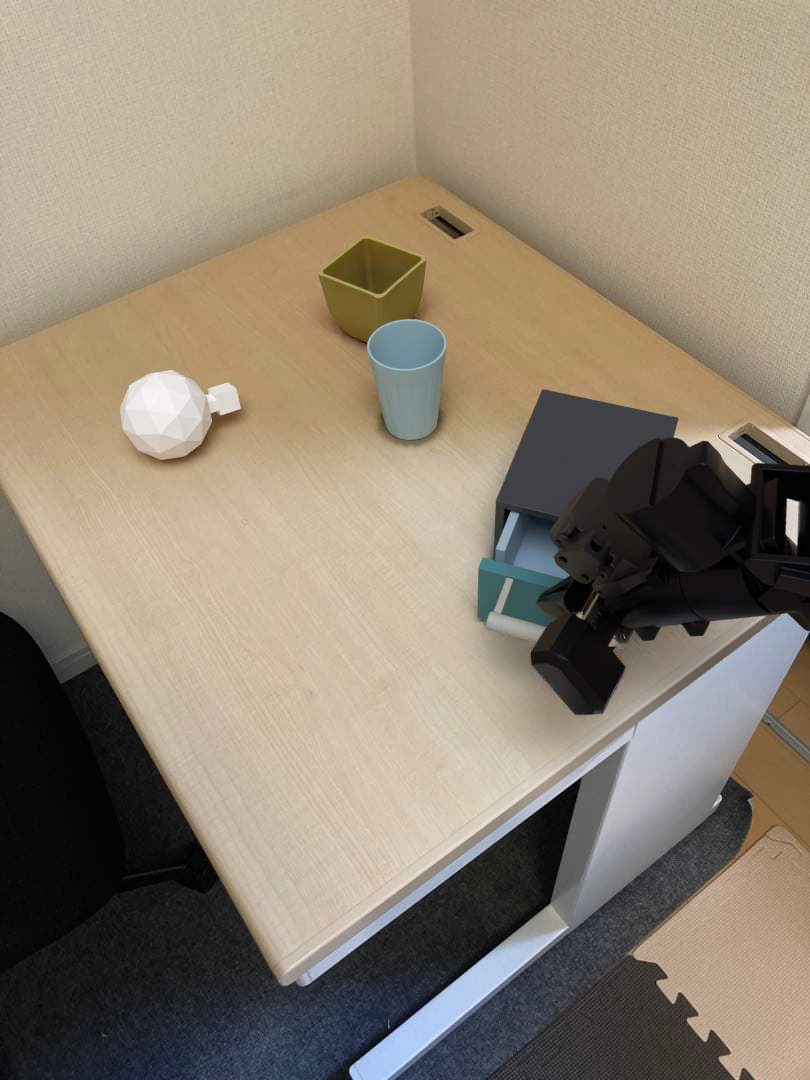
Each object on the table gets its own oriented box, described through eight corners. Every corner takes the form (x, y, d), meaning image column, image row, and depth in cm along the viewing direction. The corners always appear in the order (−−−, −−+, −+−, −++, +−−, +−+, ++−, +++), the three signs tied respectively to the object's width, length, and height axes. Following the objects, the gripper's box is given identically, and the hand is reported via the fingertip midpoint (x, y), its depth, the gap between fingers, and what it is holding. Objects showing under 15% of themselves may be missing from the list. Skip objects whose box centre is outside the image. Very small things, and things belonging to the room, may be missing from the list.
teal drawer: (593, 704, 73) (604, 655, 67) (458, 664, 76) (458, 614, 70) (640, 535, 84) (654, 480, 78) (520, 506, 86) (525, 451, 81)
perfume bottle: (148, 485, 89) (259, 445, 94) (122, 399, 84) (241, 362, 89) (122, 455, 96) (227, 420, 101) (97, 374, 91) (208, 341, 96)
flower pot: (370, 299, 109) (364, 232, 102) (430, 323, 106) (428, 255, 99) (325, 339, 105) (315, 272, 98) (386, 365, 102) (380, 298, 95)
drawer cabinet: (629, 601, 80) (645, 537, 73) (492, 565, 83) (495, 500, 76) (661, 484, 88) (678, 417, 81) (536, 455, 92) (542, 388, 85)
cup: (460, 408, 96) (459, 329, 88) (429, 456, 92) (425, 378, 84) (396, 389, 99) (390, 311, 91) (363, 435, 95) (353, 357, 87)
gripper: (693, 397, 61) (535, 452, 74) (572, 591, 52) (415, 616, 65) (777, 516, 65) (612, 550, 77) (677, 720, 55) (508, 720, 68)
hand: (541, 602), depth 72 cm, fingers closed
